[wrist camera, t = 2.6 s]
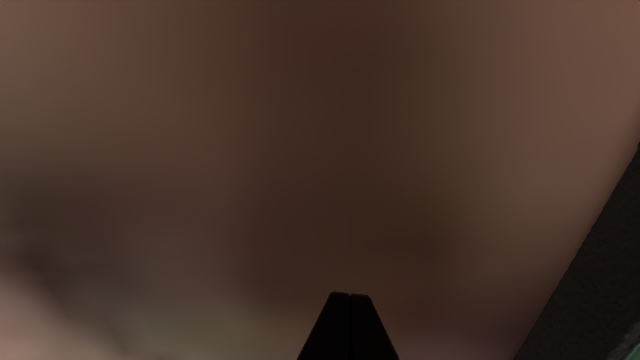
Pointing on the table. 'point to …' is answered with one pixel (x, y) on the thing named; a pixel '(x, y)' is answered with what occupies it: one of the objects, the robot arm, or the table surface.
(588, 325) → the disk drive
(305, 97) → the table surface
